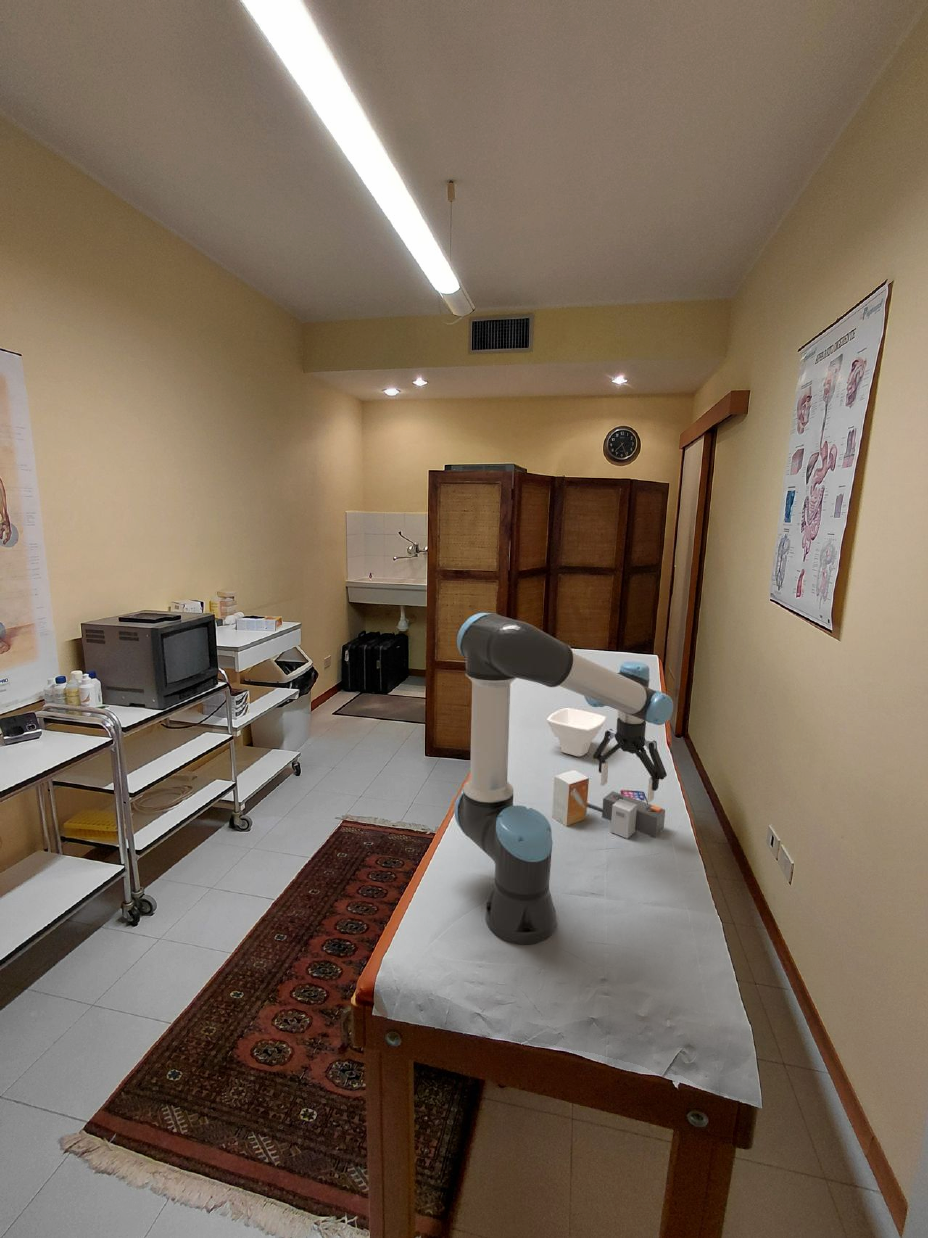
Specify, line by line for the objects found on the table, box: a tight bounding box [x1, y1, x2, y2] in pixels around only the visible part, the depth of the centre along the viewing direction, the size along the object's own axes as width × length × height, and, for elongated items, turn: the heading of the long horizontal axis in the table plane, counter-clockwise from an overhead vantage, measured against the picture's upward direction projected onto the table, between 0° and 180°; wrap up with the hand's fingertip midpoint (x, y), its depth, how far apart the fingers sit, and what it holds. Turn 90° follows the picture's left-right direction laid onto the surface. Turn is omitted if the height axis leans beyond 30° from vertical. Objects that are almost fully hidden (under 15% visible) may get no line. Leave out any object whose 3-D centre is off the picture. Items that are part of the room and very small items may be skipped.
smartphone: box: [620, 789, 649, 804], centre depth 168 cm, size 8×1×15 cm
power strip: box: [587, 790, 666, 839], centre depth 159 cm, size 6×24×7 cm, turn 50°
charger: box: [609, 799, 637, 839], centre depth 152 cm, size 9×5×8 cm, turn 139°
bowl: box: [546, 707, 607, 757], centre depth 204 cm, size 19×19×14 cm
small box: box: [551, 769, 590, 827], centre depth 158 cm, size 8×6×13 cm
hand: (626, 792), depth 150 cm, fingers open, 13 cm apart
